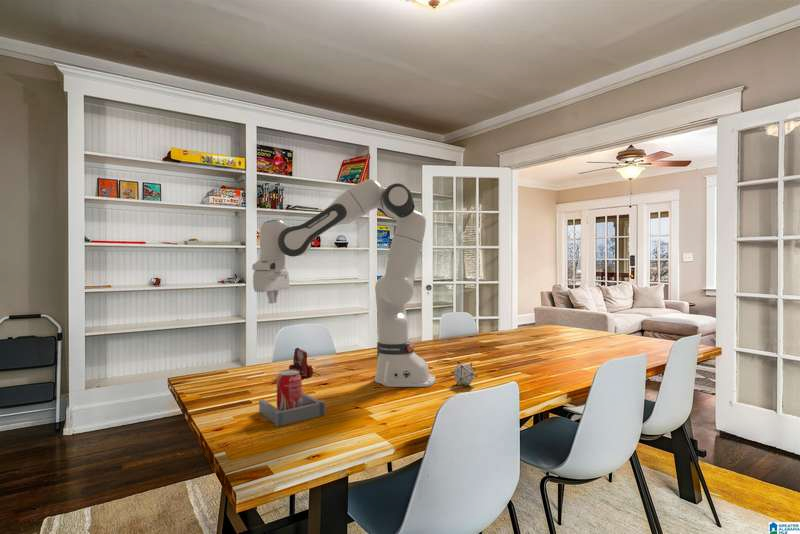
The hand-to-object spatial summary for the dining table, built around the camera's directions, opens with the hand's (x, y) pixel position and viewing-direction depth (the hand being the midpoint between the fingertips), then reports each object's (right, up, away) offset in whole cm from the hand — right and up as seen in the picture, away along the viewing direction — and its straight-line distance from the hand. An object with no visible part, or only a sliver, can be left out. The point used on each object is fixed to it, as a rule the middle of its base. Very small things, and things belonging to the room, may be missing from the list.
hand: (272, 303), depth 157 cm
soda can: (+14, -30, -31) cm, 45 cm away
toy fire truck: (+7, -29, +11) cm, 32 cm away
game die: (+69, -29, -4) cm, 75 cm away
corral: (+14, -29, -31) cm, 45 cm away
